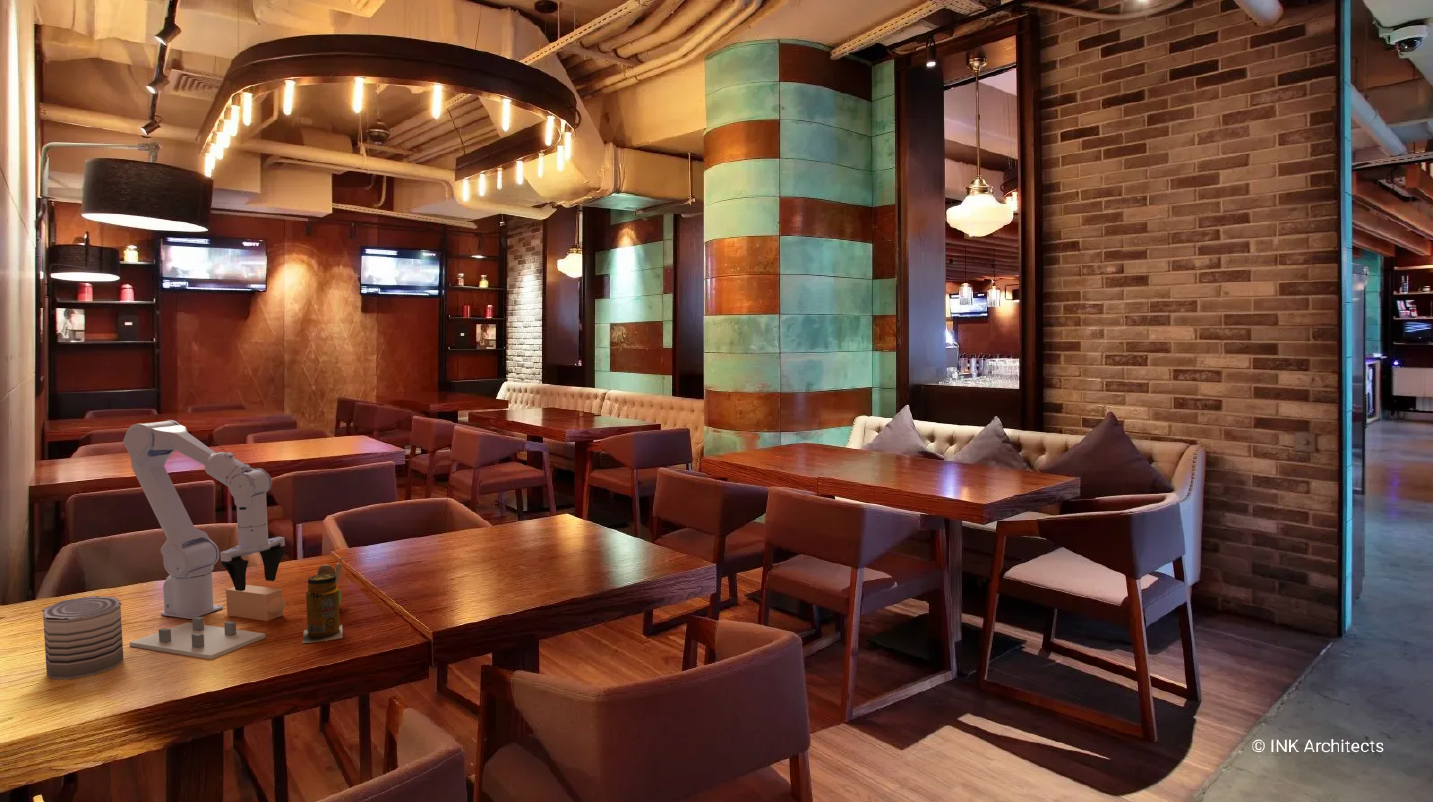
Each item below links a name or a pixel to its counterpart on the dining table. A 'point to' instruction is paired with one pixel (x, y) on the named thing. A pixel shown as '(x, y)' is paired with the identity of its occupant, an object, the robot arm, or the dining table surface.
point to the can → (82, 637)
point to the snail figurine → (332, 572)
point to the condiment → (322, 609)
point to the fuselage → (255, 603)
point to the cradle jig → (198, 639)
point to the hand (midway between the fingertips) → (255, 585)
